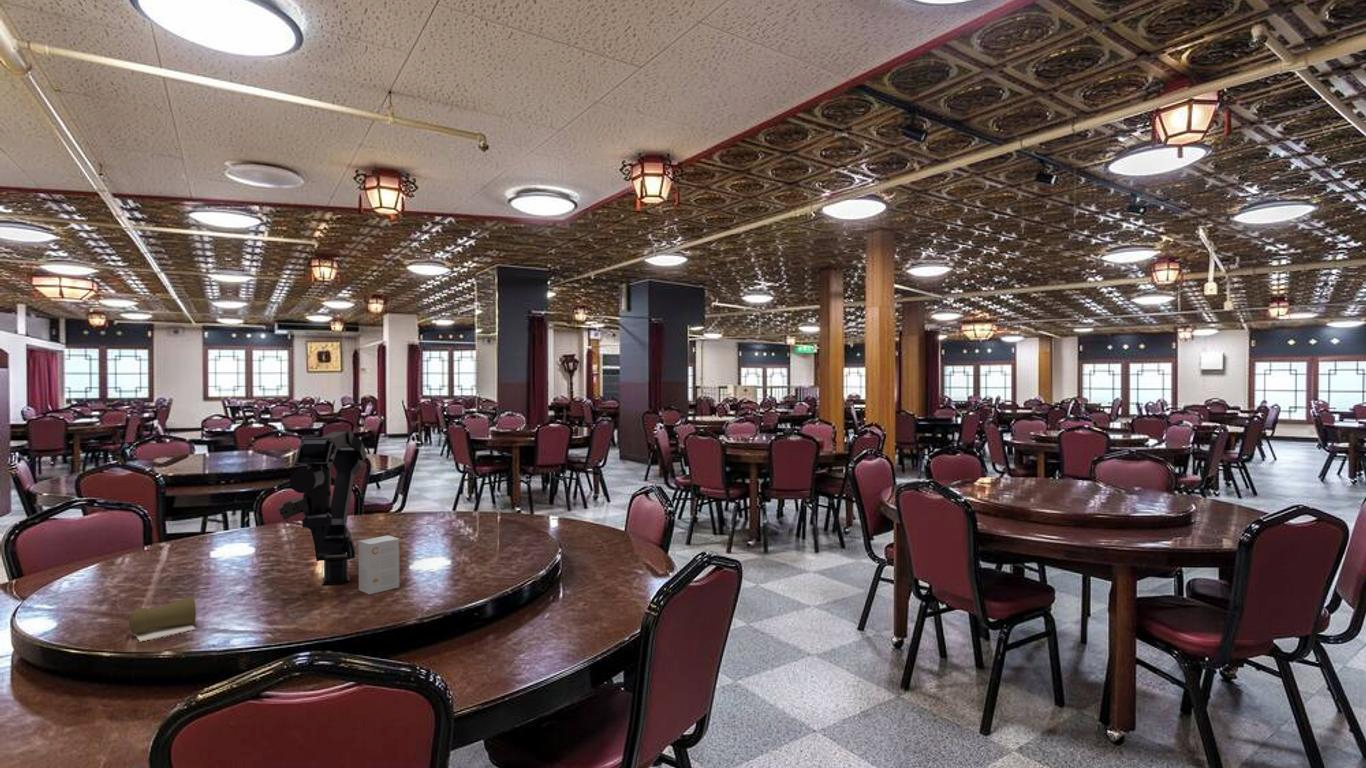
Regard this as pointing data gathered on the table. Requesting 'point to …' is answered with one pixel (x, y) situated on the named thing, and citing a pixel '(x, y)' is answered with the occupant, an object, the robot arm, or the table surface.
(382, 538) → the small box
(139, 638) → the mat
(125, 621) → the table surface
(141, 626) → the cork
